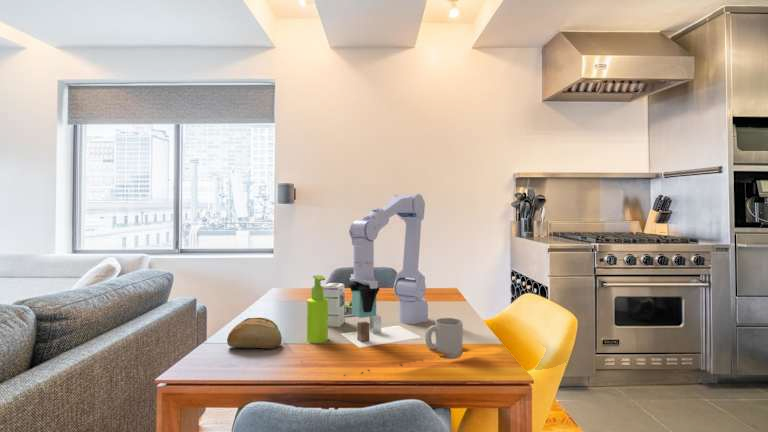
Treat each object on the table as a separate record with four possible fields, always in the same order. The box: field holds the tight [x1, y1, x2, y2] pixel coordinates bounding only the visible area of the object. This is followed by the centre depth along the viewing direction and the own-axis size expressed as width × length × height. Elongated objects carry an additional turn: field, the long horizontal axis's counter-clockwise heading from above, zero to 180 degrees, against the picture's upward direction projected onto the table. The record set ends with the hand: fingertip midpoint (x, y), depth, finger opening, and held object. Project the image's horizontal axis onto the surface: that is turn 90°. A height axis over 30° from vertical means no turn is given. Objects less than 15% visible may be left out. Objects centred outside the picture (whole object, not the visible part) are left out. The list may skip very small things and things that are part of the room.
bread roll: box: [226, 317, 283, 349], centre depth 115 cm, size 10×15×8 cm, turn 94°
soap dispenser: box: [306, 274, 329, 344], centre depth 116 cm, size 6×7×20 cm
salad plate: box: [345, 300, 357, 319], centre depth 152 cm, size 19×18×5 cm
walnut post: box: [356, 321, 370, 342], centre depth 116 cm, size 3×3×5 cm
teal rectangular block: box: [351, 290, 377, 319], centre depth 116 cm, size 5×5×7 cm
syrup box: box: [322, 282, 346, 328], centre depth 133 cm, size 6×6×14 cm
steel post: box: [369, 314, 382, 334], centre depth 124 cm, size 3×3×5 cm
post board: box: [340, 325, 422, 349], centre depth 121 cm, size 20×14×2 cm
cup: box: [424, 317, 464, 360], centre depth 109 cm, size 7×10×9 cm
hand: (363, 309), depth 116 cm, fingers closed on teal rectangular block, 5 cm apart
